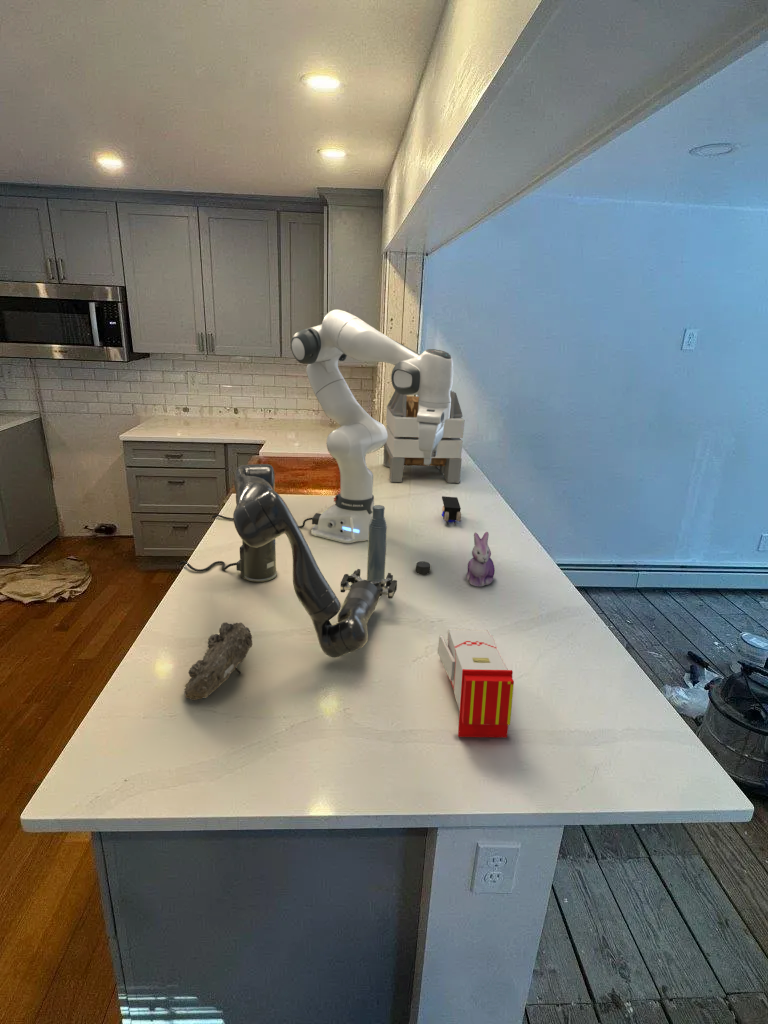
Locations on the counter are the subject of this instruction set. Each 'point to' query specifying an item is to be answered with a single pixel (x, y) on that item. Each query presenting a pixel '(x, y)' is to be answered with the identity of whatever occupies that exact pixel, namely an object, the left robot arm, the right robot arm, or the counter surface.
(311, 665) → the counter surface
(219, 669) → the fossil
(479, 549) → the figurine
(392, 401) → the transformer
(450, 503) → the figurine character
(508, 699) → the toy
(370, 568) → the bottle
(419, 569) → the cap
